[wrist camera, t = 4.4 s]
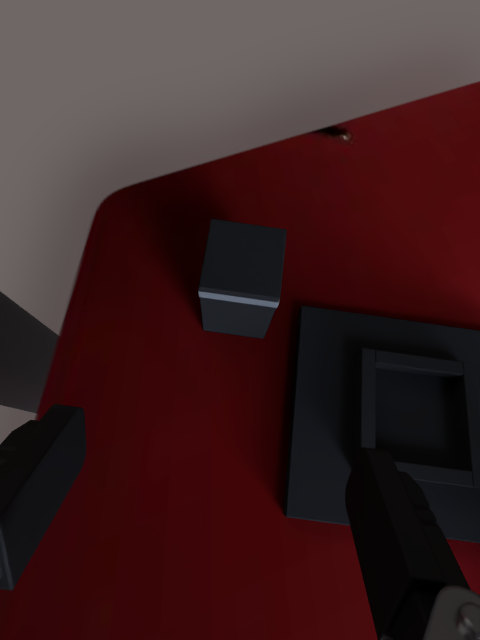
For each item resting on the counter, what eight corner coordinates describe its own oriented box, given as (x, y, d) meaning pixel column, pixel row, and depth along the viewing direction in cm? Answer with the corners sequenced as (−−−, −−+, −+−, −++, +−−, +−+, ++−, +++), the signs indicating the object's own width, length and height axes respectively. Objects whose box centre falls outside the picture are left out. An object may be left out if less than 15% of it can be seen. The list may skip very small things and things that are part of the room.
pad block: (202, 331, 29) (197, 287, 21) (212, 275, 31) (210, 217, 23) (264, 339, 29) (280, 299, 22) (270, 283, 31) (287, 228, 23)
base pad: (283, 514, 25) (290, 520, 23) (298, 309, 30) (306, 297, 28) (530, 548, 25) (563, 557, 23) (504, 338, 30) (528, 328, 28)
